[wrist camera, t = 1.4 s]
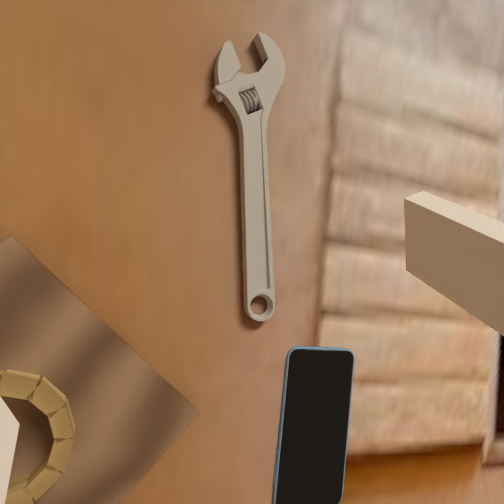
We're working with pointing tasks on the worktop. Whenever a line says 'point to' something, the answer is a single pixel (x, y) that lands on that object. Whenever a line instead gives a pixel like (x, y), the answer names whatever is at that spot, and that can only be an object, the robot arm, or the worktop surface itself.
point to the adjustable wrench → (253, 159)
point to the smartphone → (313, 426)
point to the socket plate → (76, 393)
